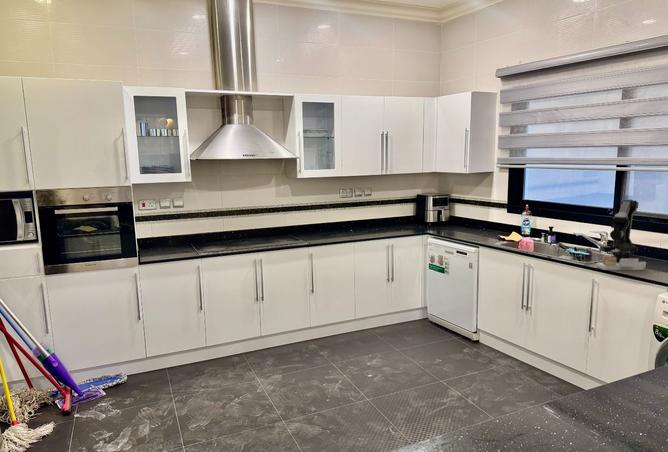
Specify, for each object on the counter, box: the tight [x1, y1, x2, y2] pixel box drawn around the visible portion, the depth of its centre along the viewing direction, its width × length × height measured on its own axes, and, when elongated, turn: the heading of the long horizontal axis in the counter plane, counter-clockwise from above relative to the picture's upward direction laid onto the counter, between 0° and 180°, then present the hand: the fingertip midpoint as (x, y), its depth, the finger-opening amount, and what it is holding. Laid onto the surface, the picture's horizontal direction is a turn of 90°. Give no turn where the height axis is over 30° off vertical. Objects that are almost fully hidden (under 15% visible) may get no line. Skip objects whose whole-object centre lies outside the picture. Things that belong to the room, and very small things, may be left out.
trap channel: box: [596, 258, 647, 271], centre depth 271 cm, size 9×23×4 cm, turn 84°
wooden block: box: [602, 254, 616, 266], centre depth 271 cm, size 5×5×5 cm
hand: (617, 262), depth 271 cm, fingers closed
